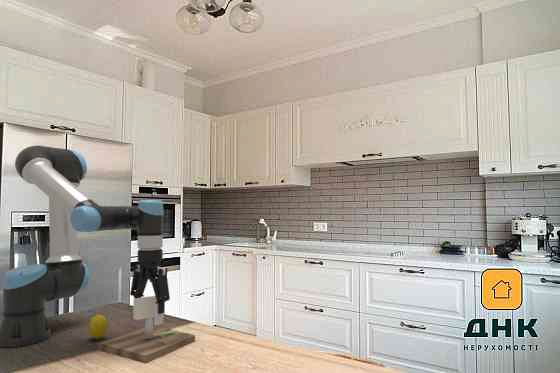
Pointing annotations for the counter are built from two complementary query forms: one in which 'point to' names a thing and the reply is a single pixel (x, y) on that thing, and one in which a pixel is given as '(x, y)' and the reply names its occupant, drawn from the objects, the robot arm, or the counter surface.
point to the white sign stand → (147, 314)
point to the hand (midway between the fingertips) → (149, 321)
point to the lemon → (98, 326)
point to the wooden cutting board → (146, 344)
